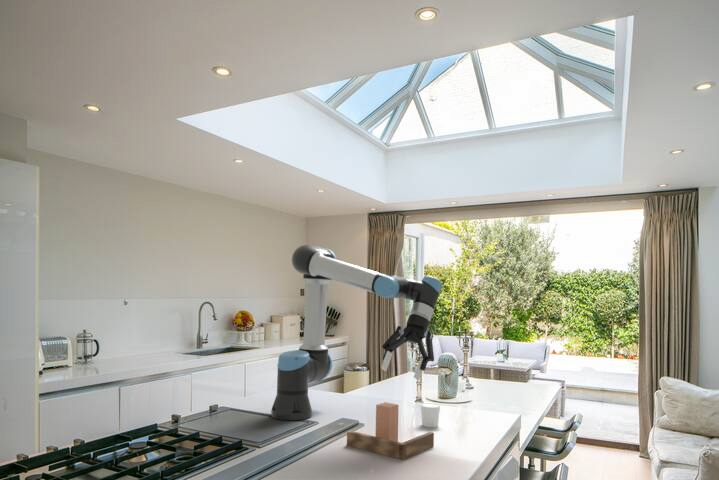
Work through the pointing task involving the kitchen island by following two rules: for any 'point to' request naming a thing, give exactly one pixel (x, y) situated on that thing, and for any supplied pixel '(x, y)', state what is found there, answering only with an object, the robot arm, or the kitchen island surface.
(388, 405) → the block
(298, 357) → the robot arm
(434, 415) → the white cup
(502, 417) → the kitchen island surface
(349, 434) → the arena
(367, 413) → the kitchen island surface
